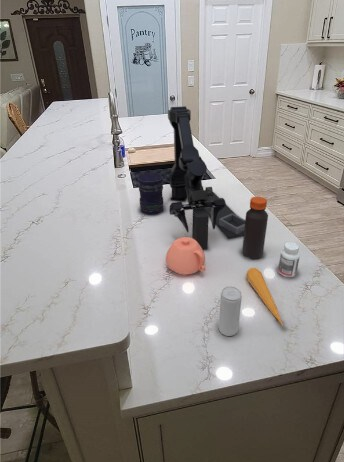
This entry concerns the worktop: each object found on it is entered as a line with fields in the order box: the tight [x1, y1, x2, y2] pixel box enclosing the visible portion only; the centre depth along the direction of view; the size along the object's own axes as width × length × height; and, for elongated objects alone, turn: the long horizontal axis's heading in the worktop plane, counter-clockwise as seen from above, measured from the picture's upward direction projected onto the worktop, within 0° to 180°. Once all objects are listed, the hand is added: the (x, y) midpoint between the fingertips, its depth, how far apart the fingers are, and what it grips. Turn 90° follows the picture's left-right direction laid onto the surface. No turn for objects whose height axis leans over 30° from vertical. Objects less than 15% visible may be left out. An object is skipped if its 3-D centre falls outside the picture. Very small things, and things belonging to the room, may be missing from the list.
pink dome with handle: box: [165, 236, 206, 276], centre depth 101 cm, size 12×14×10 cm
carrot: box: [245, 267, 284, 327], centre depth 90 cm, size 20×4×4 cm, turn 12°
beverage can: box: [218, 285, 243, 337], centre depth 79 cm, size 5×5×12 cm
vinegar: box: [241, 196, 269, 260], centre depth 105 cm, size 7×7×20 cm
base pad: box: [202, 191, 245, 240], centre depth 133 cm, size 37×10×4 cm, turn 18°
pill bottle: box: [277, 241, 301, 278], centre depth 98 cm, size 5×5×10 cm
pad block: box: [191, 208, 210, 251], centre depth 111 cm, size 4×6×13 cm, turn 10°
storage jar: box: [137, 171, 165, 216], centre depth 134 cm, size 10×10×15 cm
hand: (201, 230), depth 110 cm, fingers open, 9 cm apart
